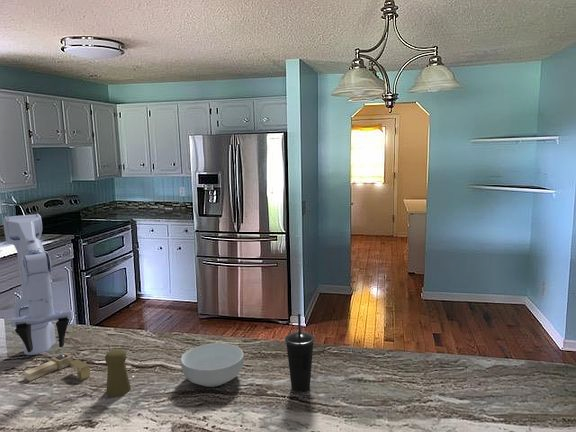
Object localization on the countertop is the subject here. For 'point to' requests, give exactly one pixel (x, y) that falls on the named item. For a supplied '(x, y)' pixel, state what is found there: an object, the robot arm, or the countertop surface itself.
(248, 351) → the countertop surface
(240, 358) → the cereal bowl
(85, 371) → the keeper
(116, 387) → the pepper mill
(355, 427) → the countertop surface
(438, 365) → the countertop surface
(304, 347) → the drinking cup
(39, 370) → the link
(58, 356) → the cylinder
